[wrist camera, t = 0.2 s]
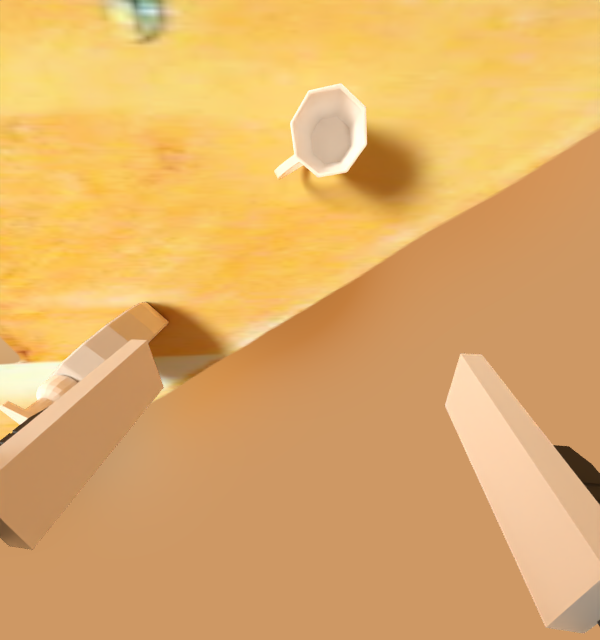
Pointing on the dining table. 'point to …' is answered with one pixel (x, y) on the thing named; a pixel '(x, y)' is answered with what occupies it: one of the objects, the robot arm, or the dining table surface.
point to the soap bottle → (92, 356)
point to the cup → (326, 132)
